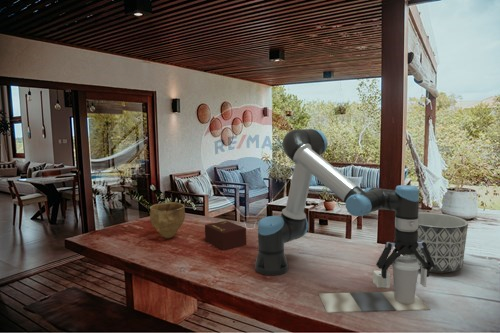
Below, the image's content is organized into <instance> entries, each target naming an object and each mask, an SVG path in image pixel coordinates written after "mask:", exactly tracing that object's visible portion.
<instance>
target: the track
mask: <svg viewBox="0 0 500 333" xmlns="http://www.w3.org/2000/svg"><path fill="white" fill-rule="evenodd" d="M318 296H319V299H320V301H321V303H322V305H323V307H324V310H325V312H326V313H327V314H330V313H331V314H332V313H334V314H335V313H365V312H366V313H368V312H374V313H375V312H399V311H401V312H403V311H430V310H431V308H430V307H429V306H428V305H427V304H426V303H425V302H424V301H423V300H422V299H421V298H420V297H419V296H417V294H415V298H414V303H412V304H403V303H400V302H398V301H396V300H395V298H394V291H367V292H366V291H365V292H363V291H361V292H359V291H358V292H332V293H331V292H330V293H326V292H325V293H318Z"/></svg>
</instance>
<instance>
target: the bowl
mask: <svg viewBox="0 0 500 333" xmlns="http://www.w3.org/2000/svg"><path fill="white" fill-rule="evenodd" d="M149 210H150V211H149V212H150V213H149V220H150V223H151V225H152V227H153V229H155V230H156V231H157V232H158V233H159V235H161V237H164V238H165V239H171V238H172V237H174V236H175V235H176V234H177V233H178V231H179V230H180V228H181V227H182V226H183V224H184V221H185V219H186V218H185V217H186V210H185V204H183V203H180V202H175V201H174V202H162V203H155V204H153V205H151V206H150V207H149Z"/></svg>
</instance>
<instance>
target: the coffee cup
mask: <svg viewBox="0 0 500 333" xmlns="http://www.w3.org/2000/svg"><path fill="white" fill-rule="evenodd" d="M390 266H392V279H393V281H392V283H393V292H394V298H395V300H396V301H398V302H400V303H403V304H412V303H414V298H415V295H416V289H417V282H418V275H419V270H421V269H420V265H419V263H418V261H417V260H416V259H414V258H411V257H406V256H403V255H400V256H399V257H397V258H396V260H395V261H394V262H393V263H392V264H391V265H390Z"/></svg>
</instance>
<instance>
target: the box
mask: <svg viewBox="0 0 500 333" xmlns="http://www.w3.org/2000/svg"><path fill="white" fill-rule="evenodd" d="M204 238H205V240H204V241H205V242H206V243H208V244H210V245H212V246H214V247H216V248H218V249H219V250H222V251H223V252H224V251H228V250H231V249H232V250H233V249H236V248H239V247H244V246H247V228H246V227H244V226H242V225H239V224H236V223H235V222H231V221H228V220H222V221H218V222H211V223H207V224H205V225H204Z"/></svg>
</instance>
